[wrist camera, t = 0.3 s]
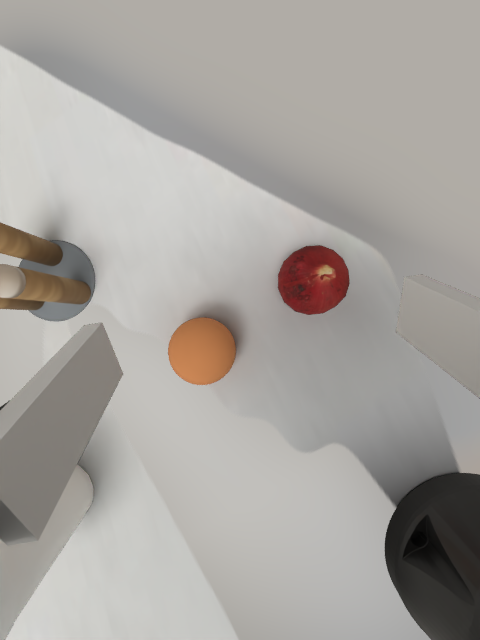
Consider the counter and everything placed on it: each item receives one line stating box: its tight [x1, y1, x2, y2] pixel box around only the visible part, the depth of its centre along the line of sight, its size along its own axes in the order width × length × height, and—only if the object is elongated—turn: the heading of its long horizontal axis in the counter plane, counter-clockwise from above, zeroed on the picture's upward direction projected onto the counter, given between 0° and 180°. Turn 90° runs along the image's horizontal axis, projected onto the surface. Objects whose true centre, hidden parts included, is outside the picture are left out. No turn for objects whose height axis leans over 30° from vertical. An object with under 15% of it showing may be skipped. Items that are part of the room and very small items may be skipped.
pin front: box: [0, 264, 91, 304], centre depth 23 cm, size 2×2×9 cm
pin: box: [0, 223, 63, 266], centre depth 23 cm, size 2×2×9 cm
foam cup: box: [0, 465, 94, 640], centre depth 21 cm, size 10×9×13 cm
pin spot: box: [19, 241, 95, 321], centre depth 28 cm, size 8×8×1 cm
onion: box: [278, 245, 349, 315], centre depth 22 cm, size 6×6×8 cm
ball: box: [168, 318, 236, 385], centre depth 24 cm, size 6×6×6 cm
